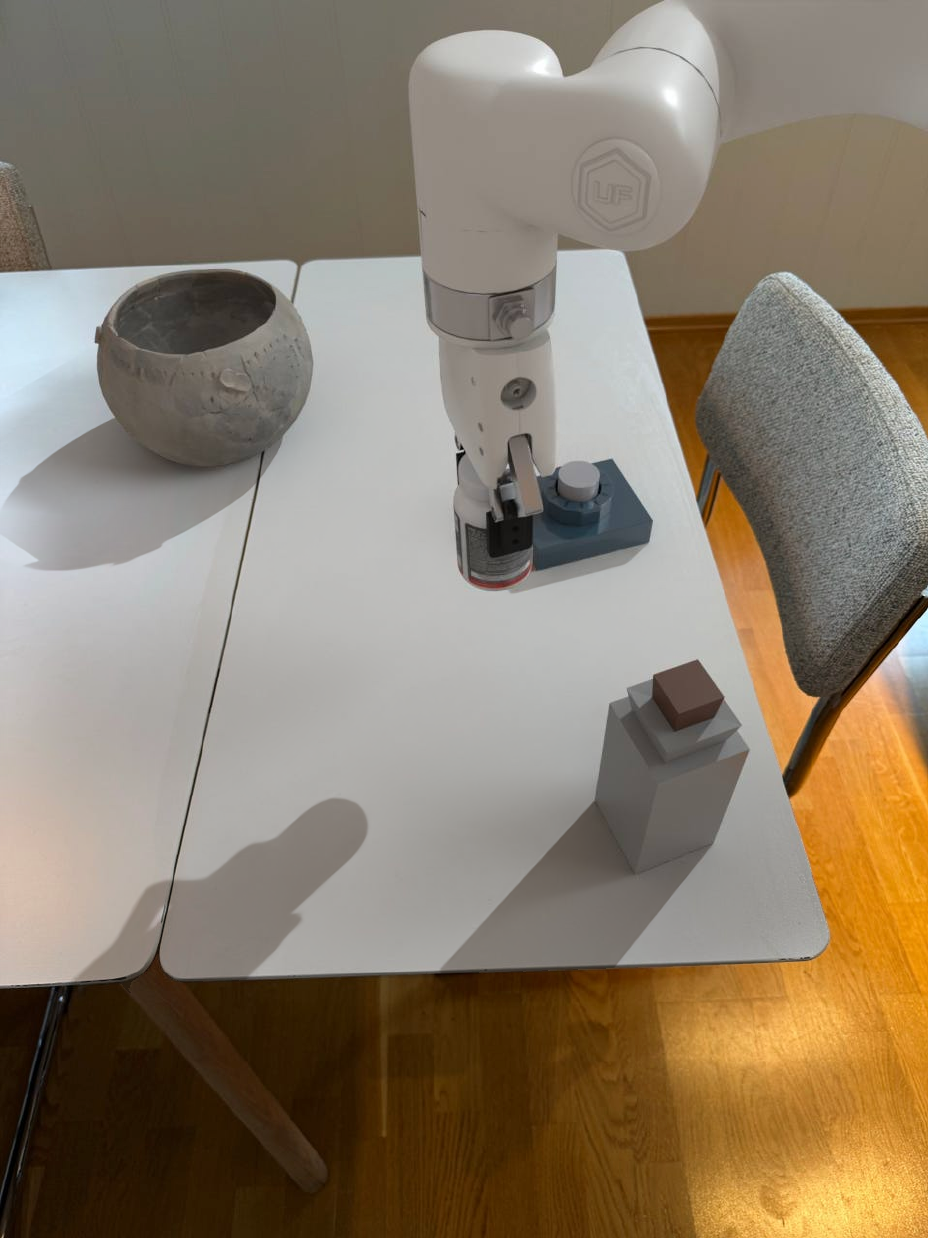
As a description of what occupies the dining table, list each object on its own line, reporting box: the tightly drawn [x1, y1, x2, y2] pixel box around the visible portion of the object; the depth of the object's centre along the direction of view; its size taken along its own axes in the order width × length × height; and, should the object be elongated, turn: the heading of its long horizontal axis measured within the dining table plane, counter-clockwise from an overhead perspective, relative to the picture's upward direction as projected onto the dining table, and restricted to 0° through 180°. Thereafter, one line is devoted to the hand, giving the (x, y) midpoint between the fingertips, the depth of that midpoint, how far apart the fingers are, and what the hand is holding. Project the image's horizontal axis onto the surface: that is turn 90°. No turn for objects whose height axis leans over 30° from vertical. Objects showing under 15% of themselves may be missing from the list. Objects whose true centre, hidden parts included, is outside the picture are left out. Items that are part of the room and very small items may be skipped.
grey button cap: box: [557, 460, 600, 503], centre depth 88 cm, size 4×4×2 cm
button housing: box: [532, 458, 654, 571], centre depth 90 cm, size 12×10×5 cm
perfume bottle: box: [594, 658, 751, 875], centre depth 63 cm, size 7×7×18 cm
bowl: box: [94, 268, 314, 467], centre depth 99 cm, size 23×23×15 cm
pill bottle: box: [452, 454, 533, 592], centre depth 65 cm, size 6×6×10 cm
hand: (494, 518), depth 65 cm, fingers closed on pill bottle, 5 cm apart
